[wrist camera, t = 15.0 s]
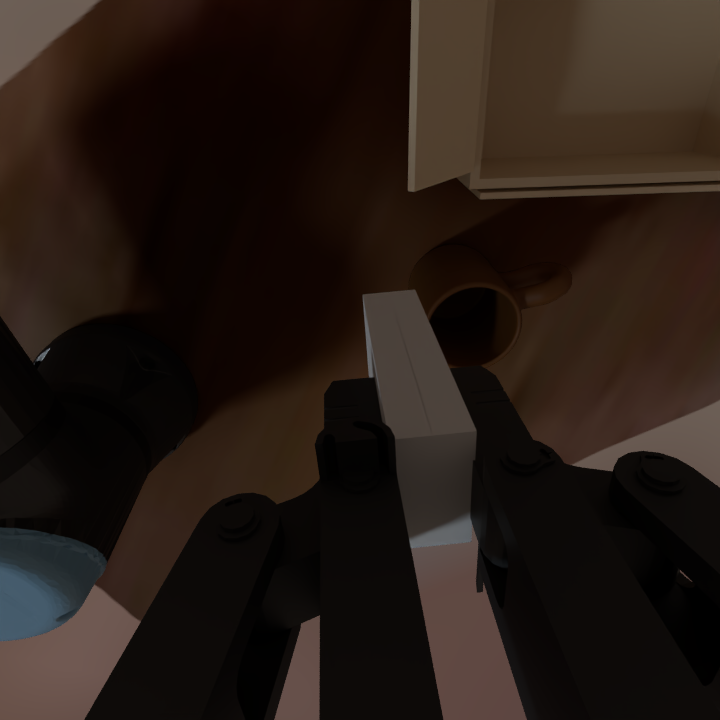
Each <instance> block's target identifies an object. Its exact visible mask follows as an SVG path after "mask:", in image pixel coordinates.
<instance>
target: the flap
mask: <svg viewBox="0 0 720 720" xmlns="http://www.w3.org/2000/svg"><path fill="white" fill-rule="evenodd" d="M487 5H488V0H412V1H411V53H410V105H409V157H408V191H411V192H415V191H418V190H421V189H424V188H427V187H430V186H433V185H436V184H439V183H441V182H444V181H447V180H450V179H453V178H456V177H459V176H462V175H465V174H467V173H470V172H473V171H474V164H475V152H476V139H477V127H478V115H479V103H480V90H481V78H482V66H483V54H484V41H485V29H486V17H487Z"/></svg>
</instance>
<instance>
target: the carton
mask: <svg viewBox="0 0 720 720" xmlns="http://www.w3.org/2000/svg"><path fill="white" fill-rule="evenodd" d="M456 178H457V179H458V180H459V181H460V182H461V183H462V184H464V185H465V186H466V187H467V188H468V189H469V190H470V191H471V192H472V193H474V194H475V195H476V196H477V197H478V198H479V199H506V198H534V197H562V196H590V195H619V194H647V193H675V192H703V191H720V0H488V5H487V17H486V29H485V41H484V54H483V66H482V78H481V90H480V103H479V115H478V127H477V139H476V152H475V164H474V171H473V172H470V173H467V174H465V175H462V176H459V177H456Z"/></svg>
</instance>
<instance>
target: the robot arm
mask: <svg viewBox="0 0 720 720" xmlns="http://www.w3.org/2000/svg"><path fill="white" fill-rule="evenodd" d="M363 306H364V319H365V332H366V345H367V357H368V370H369V378H360V379H350V380H340V381H333V382H332V383H331V385H330V386H329V388H328V389H327V391H326V392H325V394H324V429H323V430H322V431H321V432H320V433H319V434H318V437H317V440H316V443H315V449H316V455H317V462H318V468H319V475H320V479H319V481H318V482H317V483H316V484H315V485H314V486H313V487H312V488H311V489H310V490H308V491H307V492H305V493H304V494H302V495H300V496H298V497H296V498H293V499H291V500H288V501H285V502H283V503H280V504H277V505H276V503H275V502H273V501H272V500H271V499H270V498H268V497H267V496H264V495H260V494H256V493H243V494H236V495H234V496H231V497H228V498H225V499H223V500H221V501H220V502H218V503H217V504H215V505H214V506H212V507H211V508H209V510H208V511H207V512H206V513H205V514H204V516H203V517H202V518H201V519H200V521H199V523H198V524H197V526H196V528H195V529H194V531H193V533H192V535H191V536H190V538H189V540H188V542H187V543H186V545H185V547H184V548H183V550H182V552H181V554H180V555H179V557H178V559H177V561H176V562H175V564H174V566H173V567H172V569H171V571H170V573H169V574H168V576H167V578H166V580H165V581H164V583H163V585H162V586H161V588H160V590H159V592H158V593H157V595H156V597H155V599H154V600H153V602H152V604H151V605H150V607H149V609H148V611H147V612H146V614H145V616H144V618H143V619H142V621H141V623H140V625H139V626H138V628H137V630H136V631H135V633H134V635H133V637H132V638H131V640H130V642H129V643H128V645H127V647H126V649H125V651H124V652H123V654H122V656H121V657H120V659H119V661H118V662H117V664H116V666H115V668H114V670H113V671H112V673H111V675H110V676H109V678H108V680H107V682H106V683H105V685H104V687H103V688H102V690H101V692H100V694H99V695H98V697H97V699H96V700H95V702H94V704H93V706H92V708H91V709H90V711H89V713H88V714H87V716H86V718H85V720H274V718H275V715H276V711H277V708H278V704H279V701H280V697H281V694H282V690H283V687H284V683H285V680H286V677H287V673H288V669H289V666H290V663H291V659H292V656H293V652H294V649H295V645H296V642H297V638H298V635H299V631H300V628H301V623H303V622H305V621H307V620H310V619H312V618H314V617H317V616H319V615H320V720H443V716H442V710H441V705H440V700H439V694H438V689H437V684H436V679H435V673H434V668H433V663H432V657H431V652H430V647H429V642H428V636H427V631H426V626H425V620H424V616H423V610H422V605H421V600H420V594H419V589H418V584H417V579H416V573H415V568H414V562H413V557H412V552H411V548H415V547H425V546H435V545H445V544H455V543H464V542H471V534H472V525H473V528H474V531H475V534H476V536H477V540H478V543H479V544H478V560H477V576H476V586H477V592H483V582H484V585H485V588H486V591H487V594H488V597H489V601H490V604H491V607H492V610H493V613H494V616H495V620H496V623H497V626H498V629H499V632H500V635H501V639H502V642H503V645H504V648H505V651H506V655H507V658H508V661H509V664H510V667H511V670H512V674H513V677H514V680H515V683H516V686H517V689H518V693H519V696H520V699H521V702H522V705H523V709H524V712H525V715H526V718H527V720H720V488H719V487H718V486H717V485H715V484H714V483H713V482H711V481H710V480H709V479H707V478H706V477H704V476H703V475H702V474H701V473H699V472H698V471H696V470H695V469H694V468H692V467H691V466H689V465H687V464H686V463H684V462H682V461H680V460H679V459H677V458H674V457H671V456H668V455H664V454H661V453H656V452H647V451H639V452H631V453H628V454H626V455H624V456H622V457H620V458H618V460H617V462H616V464H615V466H614V469H613V471H605V470H597V469H589V468H582V467H576V466H572V465H568V464H565V463H564V462H563V461H562V459H561V457H560V456H559V455H558V454H557V453H556V452H555V451H554V450H553V449H552V448H550V447H548V446H547V445H545V444H543V443H541V442H539V441H535V440H533V439H532V437H531V435H530V434H529V432H528V430H527V428H526V427H525V425H524V423H523V422H522V420H521V418H520V416H519V415H518V413H517V411H516V410H515V408H514V406H513V404H512V403H511V402H510V399H509V398H508V396H507V394H506V392H505V391H503V387H502V386H501V384H500V382H499V380H498V379H497V377H496V375H494V374H493V373H491V372H490V371H488V370H487V369H485V368H484V367H482V366H481V365H478V366H468V367H458V368H449V366H448V364H447V362H446V360H445V357H444V355H443V353H442V350H441V348H440V346H439V343H438V341H437V339H436V337H435V334H434V332H433V330H432V327H431V325H430V323H429V321H428V318H427V316H426V314H425V311H424V309H423V307H422V304H421V302H420V300H419V298H418V295H417V293H416V291H415V290H406V291H395V292H384V293H374V294H363ZM197 409H198V395H197V389H196V386H195V383H194V380H193V378H192V376H191V374H190V372H189V370H188V369H187V367H186V366H185V365H184V363H183V362H182V361H181V360H180V358H179V357H178V356H177V355H176V354H175V353H174V352H173V351H171V350H170V349H169V348H168V347H167V346H165V345H164V344H162V343H161V342H160V341H158V340H156V339H155V338H153V337H151V336H149V335H147V334H145V333H142V332H140V331H137V330H135V329H131V328H128V327H124V326H119V325H112V324H90V325H84V326H80V327H76V328H73V329H71V330H68V331H66V332H64V333H63V334H61V335H59V336H58V337H57V338H55V339H54V340H53V341H52V342H51V343H50V344H49V345H48V346H47V347H46V348H45V349H43V350H42V351H41V352H40V354H39V355H38V356H37V357H36V359H35V360H34V362H33V363H32V361H31V360H30V358H29V357H28V355H27V354H26V353H25V351H24V350H23V348H22V347H21V345H20V344H19V342H18V341H17V340H16V338H15V337H14V335H13V334H12V332H11V331H10V330H9V328H8V327H7V325H6V324H5V322H4V321H3V319H2V318H1V317H0V641H10V640H18V639H24V638H29V637H33V636H37V635H41V634H43V633H46V632H49V631H51V630H53V629H55V628H57V627H59V626H61V625H62V624H64V623H65V622H67V621H68V620H69V619H70V618H72V617H73V616H74V615H75V614H76V613H77V611H78V610H79V609H80V608H81V606H82V605H83V603H84V601H85V600H86V598H87V596H88V594H89V593H90V591H91V589H92V587H93V586H94V584H95V582H96V580H97V579H98V578H99V577H100V576H101V575H102V574H103V572H104V570H105V568H106V564H107V562H108V560H109V558H110V556H111V553H112V551H113V549H114V547H115V545H116V542H117V540H118V538H119V536H120V534H121V532H122V529H123V527H124V525H125V523H126V521H127V519H128V516H129V514H130V512H131V510H132V508H133V505H134V503H135V501H136V499H137V497H138V495H139V492H140V490H141V488H142V486H143V484H144V482H145V480H146V478H147V476H148V474H149V472H151V471H152V470H153V469H154V468H155V467H156V466H157V465H158V463H159V462H160V461H161V460H162V459H164V458H165V457H167V456H169V455H170V454H171V453H173V452H174V451H175V450H176V449H177V448H178V447H179V446H180V445H181V444H182V442H183V441H184V440H185V438H186V437H187V435H188V433H189V431H190V429H191V427H192V424H193V422H194V419H195V417H196V414H197ZM680 570H681V571H682V572H683V573H684V574H685V575H686V576H687V577H688V578H689V579H690V580H692V582H691V581H690V580H689V579H687V578H686V577H685V576H684V575H683V574H681V573H680V572H679V571H680Z"/></svg>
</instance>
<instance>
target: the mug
mask: <svg viewBox="0 0 720 720" xmlns="http://www.w3.org/2000/svg"><path fill="white" fill-rule="evenodd" d="M571 285H572V274H571V273H570V271H569V270H568V268H566V267H565V266H563V265H561V264H557V263H547V262H545V263H536V264H532V265H528V266H525V267H522V268H520V269H517V270H514V271H509V272H496V270H495V269H494V268H493V267H492V266H491V264H490V263H489V262H488V261H487V259H486V258H485V257H484V256H483V255H482V254H480V253H479V252H478V251H476V250H475V249H472V248H470V247H467V246H464V245H458V244H451V245H444V246H440V247H438V248H435V249H433V250H431V251H430V252H428V253H427V254H425V255H424V256H423V257H422V258H421V259H420V260H419V261H418V263H417V264H416V265H415V267H414V269H413V271H412V273H411V276H410V280H409V287H408V290H415V291H416V293H417V295H418V298H419V300H420V302H421V304H422V307H423V309H424V311H425V314H426V316H427V318H428V321H429V323H430V325H431V327H432V330H433V332H434V334H435V337H436V339H437V341H438V343H439V346H440V348H441V350H442V353H443V355H444V357H445V360H446V362H447V364H448V366H449V368H458V367H468V366H478V365H481V366H482V367H484V368H487V367H489V366H491V365H493V364H495V363H497V362H498V361H500V360H501V359H502V358H504V357H505V356H506V355H507V354H508V353H509V352H510V351H511V349H512V348H513V347H514V345H515V344H516V342H517V340H518V338H519V335H520V332H521V327H522V314H521V310H522V309H526V308H531V307H535V306H540V305H545V304H548V303H550V302H553V301H555V300H557V299H558V298H560V297H561V296H563V295H564V294H566V293H567V291H568V290H569V289H570V287H571Z"/></svg>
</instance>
